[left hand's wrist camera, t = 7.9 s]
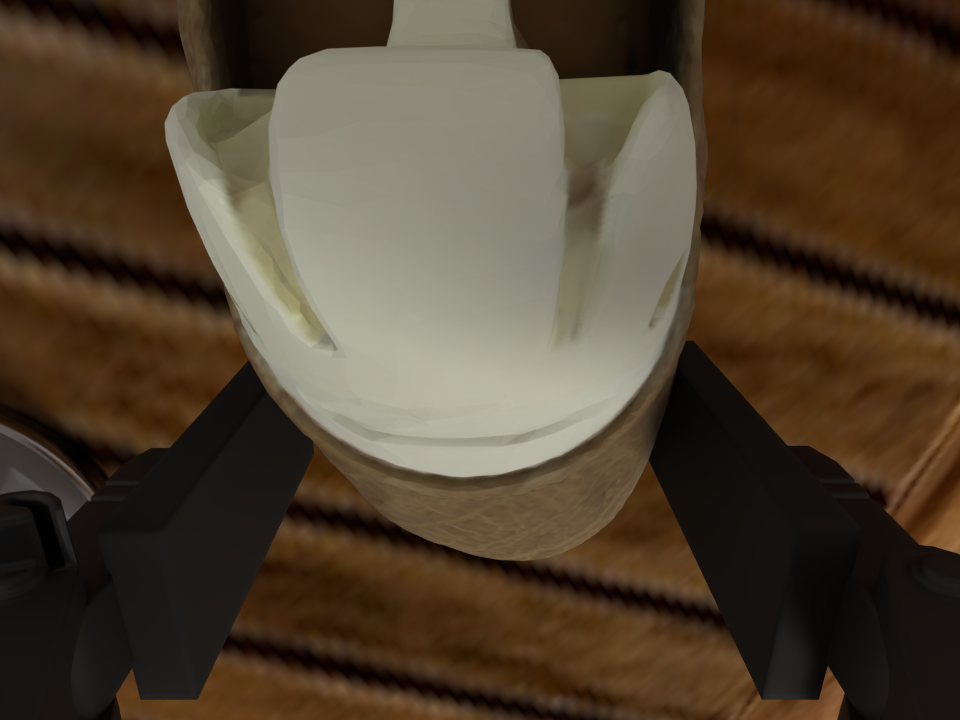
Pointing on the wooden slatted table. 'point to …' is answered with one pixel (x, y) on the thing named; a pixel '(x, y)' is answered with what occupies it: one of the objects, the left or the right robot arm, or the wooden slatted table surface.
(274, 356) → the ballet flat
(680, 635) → the wooden slatted table surface
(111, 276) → the wooden slatted table surface
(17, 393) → the wooden slatted table surface
